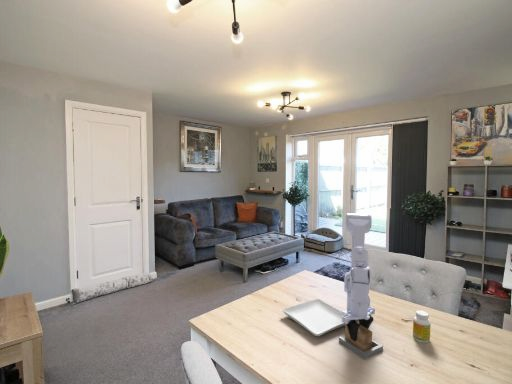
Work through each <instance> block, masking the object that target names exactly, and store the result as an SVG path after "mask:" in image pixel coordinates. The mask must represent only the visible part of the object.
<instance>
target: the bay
mask: <svg viewBox="0 0 512 384" xmlns="http://www.w3.org/2000/svg"><path fill="white" fill-rule="evenodd" d="M338 342H339V343H341V344H343V346H345V347H346V348H348V349H349V350H350V351H352V352H353V353H355V354H356V355H358V356H359V357H361V358H362V359H363V360H365V359H367V358H369V357H371V356H374V355H376V354H378V353H380V352H382V351H384V345H382V344H381V343H379V342H377V341H376V340H375V339H373V338H372V348H371V349H369V350H367V351H365V352H363V351H362V350H360V349H359V348H357V347H356V346H354V345H353V344H351V343H350V342H348V341H347V340H345V337H343V336H339V337H338Z"/></svg>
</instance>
